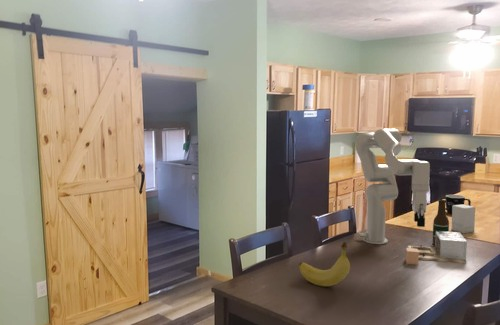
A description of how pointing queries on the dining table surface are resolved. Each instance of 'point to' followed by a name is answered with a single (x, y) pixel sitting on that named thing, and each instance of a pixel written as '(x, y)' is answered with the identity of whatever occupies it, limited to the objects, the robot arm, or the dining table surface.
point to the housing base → (433, 254)
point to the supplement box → (463, 218)
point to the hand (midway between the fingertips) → (419, 224)
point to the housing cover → (451, 245)
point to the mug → (454, 201)
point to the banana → (327, 271)
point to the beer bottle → (440, 220)
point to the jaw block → (412, 256)
